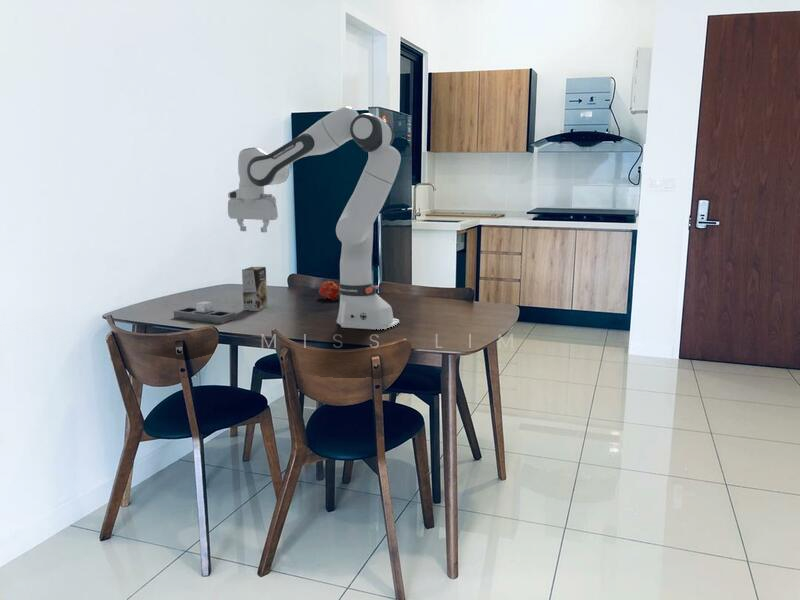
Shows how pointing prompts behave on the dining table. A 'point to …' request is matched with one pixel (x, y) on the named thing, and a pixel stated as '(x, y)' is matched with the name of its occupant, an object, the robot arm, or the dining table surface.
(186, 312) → the grey compartment tray
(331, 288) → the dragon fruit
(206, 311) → the nut block
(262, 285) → the coffee box
